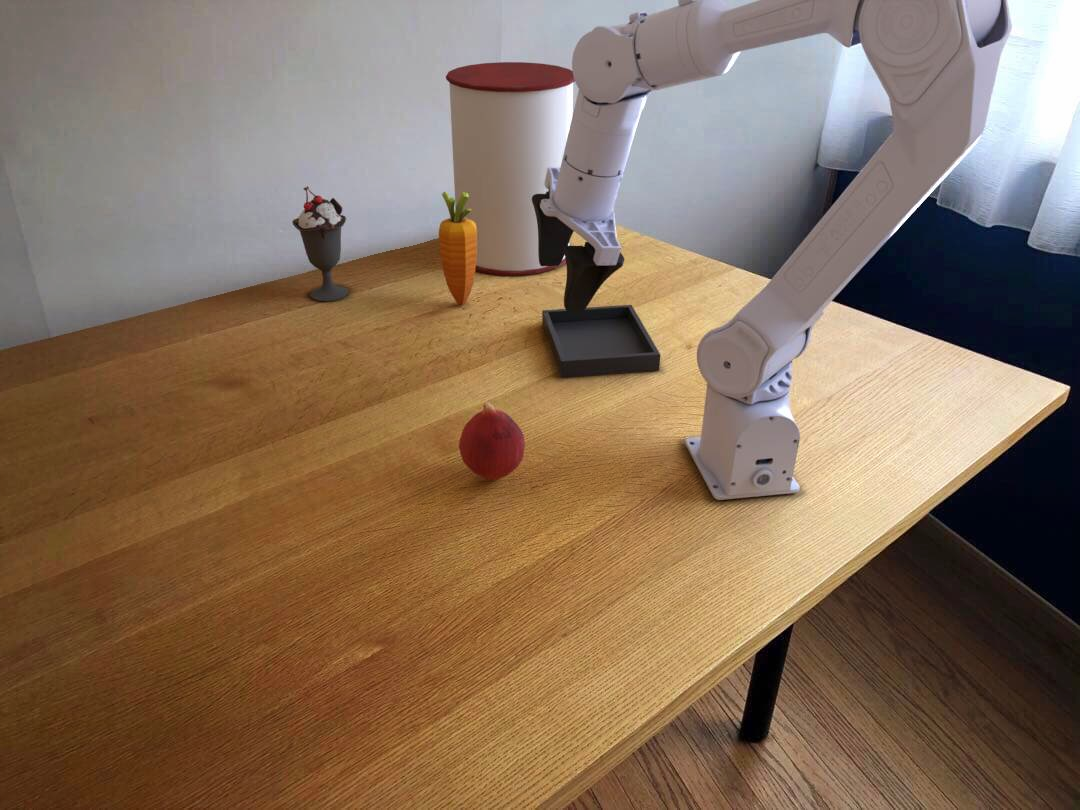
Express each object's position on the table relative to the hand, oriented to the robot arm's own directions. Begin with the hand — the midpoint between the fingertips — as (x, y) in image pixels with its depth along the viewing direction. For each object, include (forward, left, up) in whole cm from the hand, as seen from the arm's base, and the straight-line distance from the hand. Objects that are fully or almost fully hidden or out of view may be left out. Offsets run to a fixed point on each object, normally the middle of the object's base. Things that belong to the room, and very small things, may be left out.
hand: (561, 285), depth 87 cm
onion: (-15, +9, -12) cm, 21 cm away
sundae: (+29, +26, -12) cm, 41 cm away
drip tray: (+9, -6, -12) cm, 16 cm away
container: (+40, 0, -12) cm, 42 cm away
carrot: (+23, +9, -12) cm, 27 cm away
